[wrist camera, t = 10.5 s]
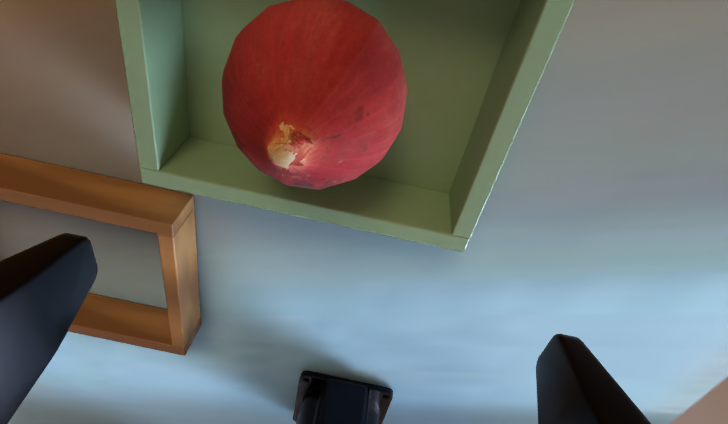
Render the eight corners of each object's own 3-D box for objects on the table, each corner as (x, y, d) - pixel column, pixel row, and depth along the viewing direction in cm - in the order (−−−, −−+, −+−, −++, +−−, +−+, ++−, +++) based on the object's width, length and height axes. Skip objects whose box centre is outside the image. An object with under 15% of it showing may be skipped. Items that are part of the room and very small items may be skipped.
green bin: (459, 204, 22) (464, 253, 19) (178, 142, 21) (141, 183, 18) (572, -80, 14) (606, -68, 12) (153, -178, 14) (86, -190, 11)
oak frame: (201, 323, 29) (185, 356, 27) (-6, 280, 29) (-38, 309, 27) (194, 194, 23) (172, 224, 21) (-72, 136, 23) (-120, 161, 21)
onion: (396, 137, 19) (381, 267, 13) (263, 115, 19) (183, 235, 13) (423, -12, 16) (420, 67, 9) (260, -36, 16) (148, 25, 9)
